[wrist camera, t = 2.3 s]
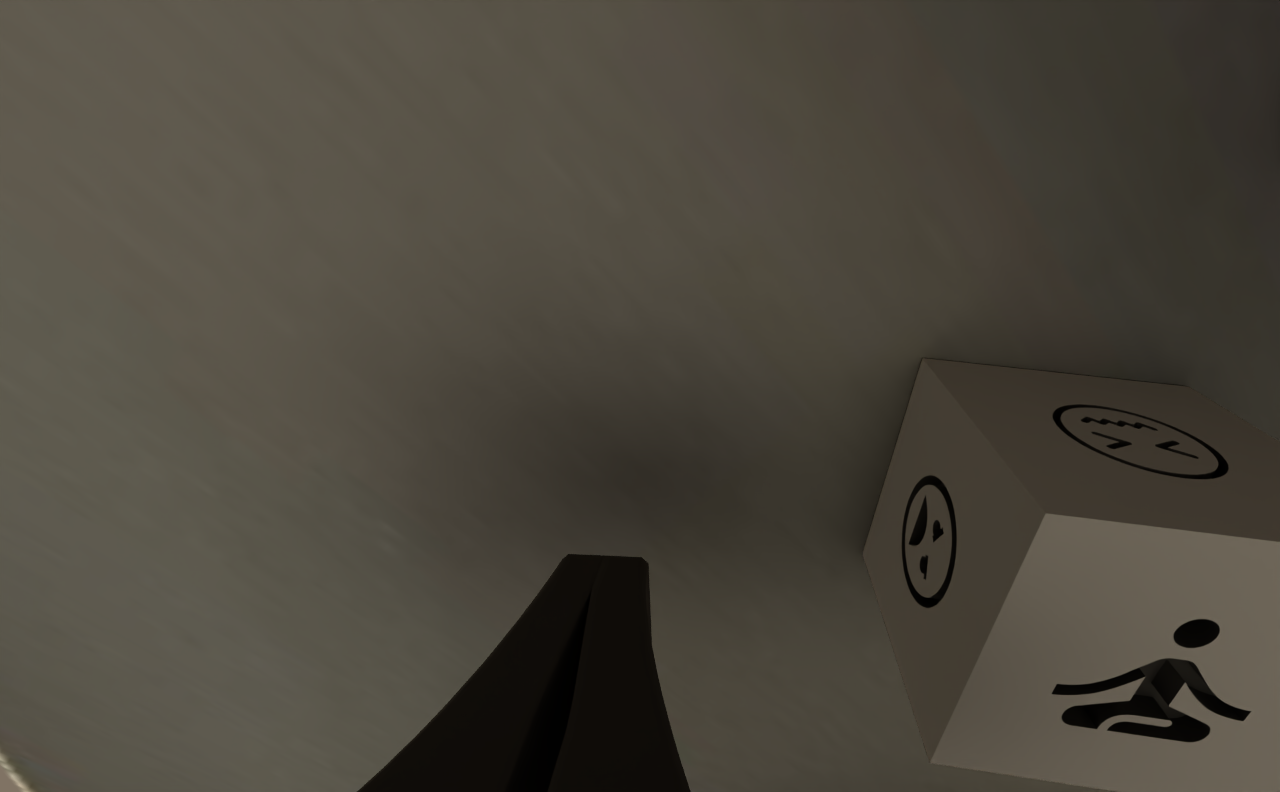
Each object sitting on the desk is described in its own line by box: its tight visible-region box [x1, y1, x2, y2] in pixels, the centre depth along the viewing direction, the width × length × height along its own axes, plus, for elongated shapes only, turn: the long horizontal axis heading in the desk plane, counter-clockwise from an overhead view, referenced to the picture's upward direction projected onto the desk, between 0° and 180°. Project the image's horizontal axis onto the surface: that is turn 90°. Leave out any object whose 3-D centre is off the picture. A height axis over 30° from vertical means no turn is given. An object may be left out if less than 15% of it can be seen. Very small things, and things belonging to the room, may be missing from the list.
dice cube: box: [862, 358, 1280, 792], centre depth 11 cm, size 5×5×5 cm
